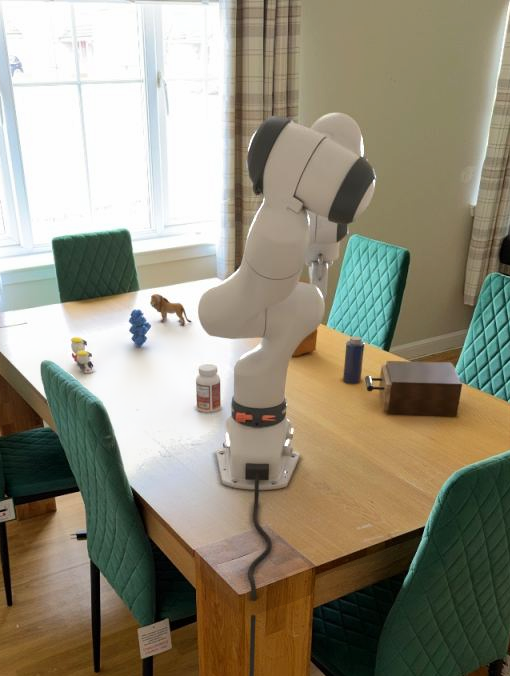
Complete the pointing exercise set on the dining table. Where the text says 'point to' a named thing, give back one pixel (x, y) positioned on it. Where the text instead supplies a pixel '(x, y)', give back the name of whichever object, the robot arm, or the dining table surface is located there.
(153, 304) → the lion figurine
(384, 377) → the drawer
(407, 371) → the cabinet
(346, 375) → the pepper mill
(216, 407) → the pill bottle
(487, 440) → the dining table surface
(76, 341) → the toy figures
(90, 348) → the dining table surface
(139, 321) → the grapes
